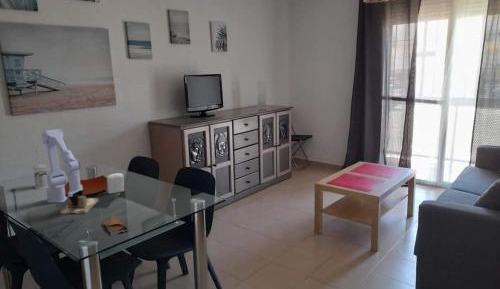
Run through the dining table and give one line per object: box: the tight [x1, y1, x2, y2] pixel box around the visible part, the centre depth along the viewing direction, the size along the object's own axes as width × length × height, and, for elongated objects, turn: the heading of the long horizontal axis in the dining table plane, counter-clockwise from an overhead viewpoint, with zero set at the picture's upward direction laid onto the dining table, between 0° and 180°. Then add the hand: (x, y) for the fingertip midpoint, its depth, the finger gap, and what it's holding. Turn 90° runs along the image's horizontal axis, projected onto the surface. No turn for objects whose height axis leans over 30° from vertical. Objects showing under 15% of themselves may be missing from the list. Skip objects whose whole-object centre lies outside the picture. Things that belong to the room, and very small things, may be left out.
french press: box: [32, 150, 49, 190], centre depth 253 cm, size 10×12×25 cm
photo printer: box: [106, 172, 125, 194], centre depth 244 cm, size 10×4×12 cm, turn 124°
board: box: [59, 197, 99, 215], centre depth 221 cm, size 14×19×2 cm
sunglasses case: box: [101, 214, 128, 232], centre depth 195 cm, size 18×7×7 cm
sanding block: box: [66, 195, 87, 208], centre depth 217 cm, size 9×4×6 cm, turn 91°
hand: (77, 204), depth 217 cm, fingers closed on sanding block, 4 cm apart
